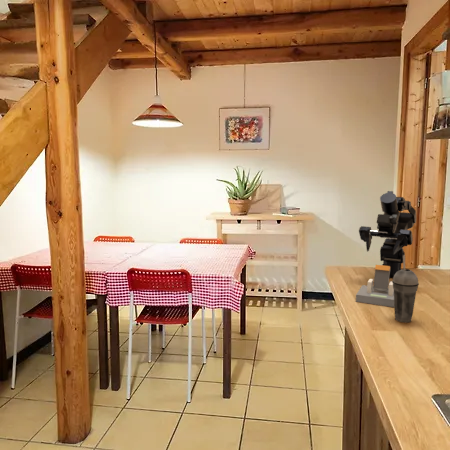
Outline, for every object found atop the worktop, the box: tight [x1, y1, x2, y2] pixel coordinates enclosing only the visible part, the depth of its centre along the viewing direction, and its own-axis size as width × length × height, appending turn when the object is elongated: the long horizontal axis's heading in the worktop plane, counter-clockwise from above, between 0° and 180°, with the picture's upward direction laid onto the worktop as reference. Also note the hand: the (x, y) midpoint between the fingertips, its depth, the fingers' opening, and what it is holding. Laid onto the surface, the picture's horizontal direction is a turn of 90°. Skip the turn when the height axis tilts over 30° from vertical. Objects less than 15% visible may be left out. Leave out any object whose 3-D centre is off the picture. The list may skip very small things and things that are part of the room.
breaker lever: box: [373, 264, 390, 292], centre depth 141 cm, size 2×5×9 cm, turn 62°
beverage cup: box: [392, 255, 420, 324], centre depth 121 cm, size 7×7×20 cm
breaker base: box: [355, 278, 394, 308], centre depth 140 cm, size 12×14×6 cm
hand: (380, 252), depth 150 cm, fingers open, 9 cm apart
